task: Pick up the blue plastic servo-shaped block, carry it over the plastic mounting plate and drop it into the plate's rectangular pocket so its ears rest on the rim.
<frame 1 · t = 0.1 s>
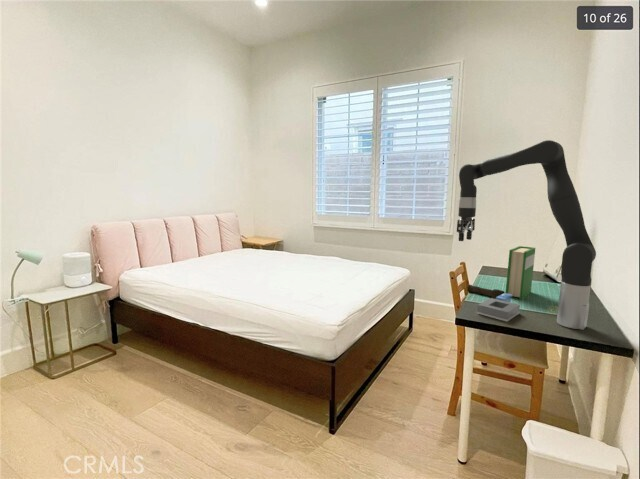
hand: (465, 240, 161), 29 cm above the table, tool pointing down, fingers open, 8 cm apart
hardback book: (518, 294, 172), on the table
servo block: (503, 304, 156), on the table
hand tool: (486, 296, 170), on the table
mounting plate: (498, 313, 144), on the table
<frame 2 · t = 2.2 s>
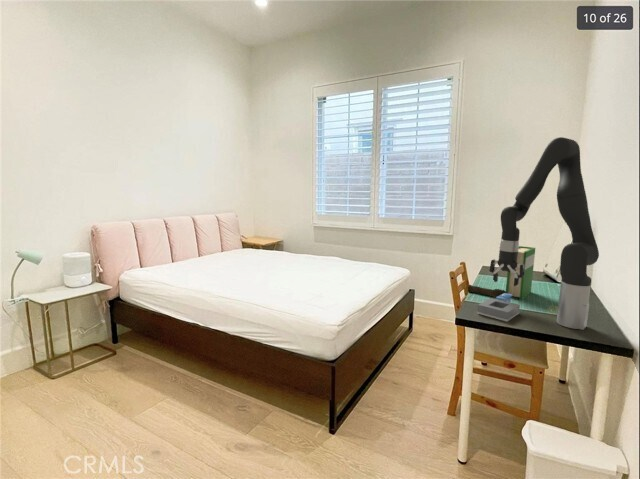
hand: (505, 283, 155), 10 cm above the table, tool pointing down, fingers open, 8 cm apart
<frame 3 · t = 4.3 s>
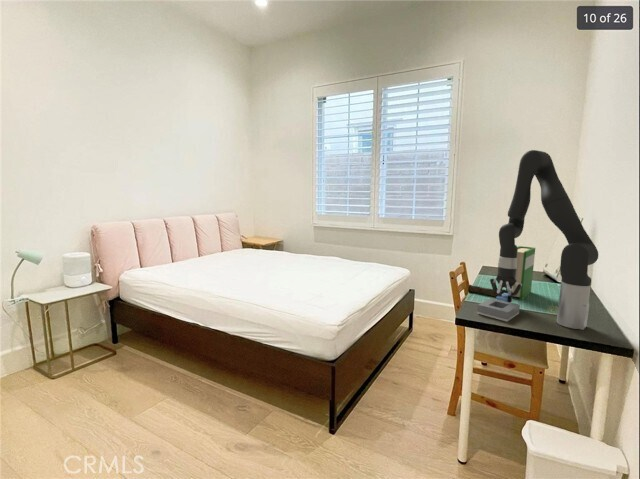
hand: (504, 301, 156), 1 cm above the table, tool pointing down, fingers closed on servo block, 3 cm apart
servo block: (503, 304, 156), on the table, touching gripper
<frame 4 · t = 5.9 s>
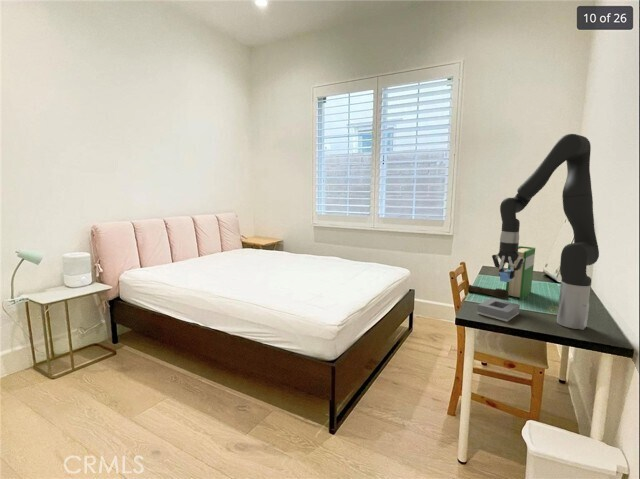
hand: (506, 277, 154), 13 cm above the table, tool pointing down, fingers closed on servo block, 3 cm apart
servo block: (506, 280, 154), point 12 cm above the table, touching gripper
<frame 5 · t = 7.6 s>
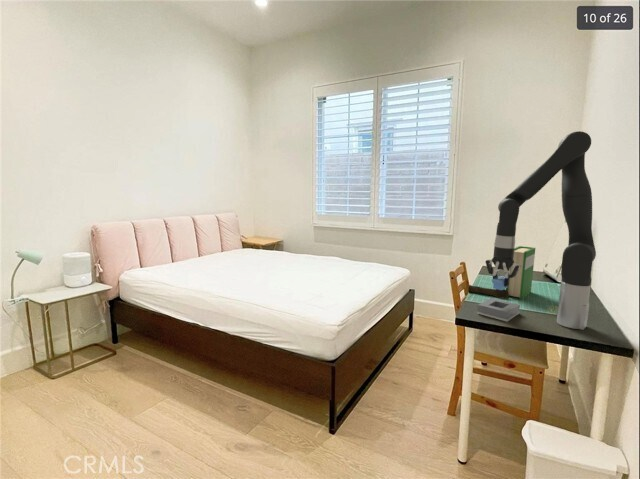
hand: (500, 285, 143), 13 cm above the table, tool pointing down, fingers closed on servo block, 3 cm apart
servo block: (500, 287, 143), point 11 cm above the table, touching gripper
when the fingers open (6 cm above the table, at t = 9.4 s): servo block drops 4 cm, resting on mounting plate.
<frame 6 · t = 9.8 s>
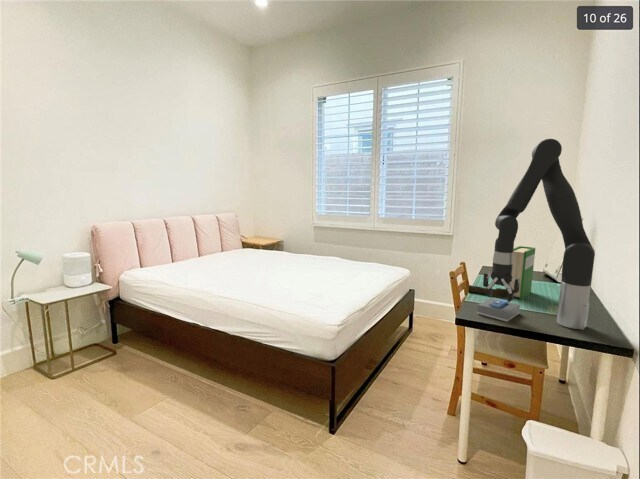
hand: (499, 299, 143), 7 cm above the table, tool pointing down, fingers open, 7 cm apart
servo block: (498, 311, 144), point 1 cm above the table, touching mounting plate
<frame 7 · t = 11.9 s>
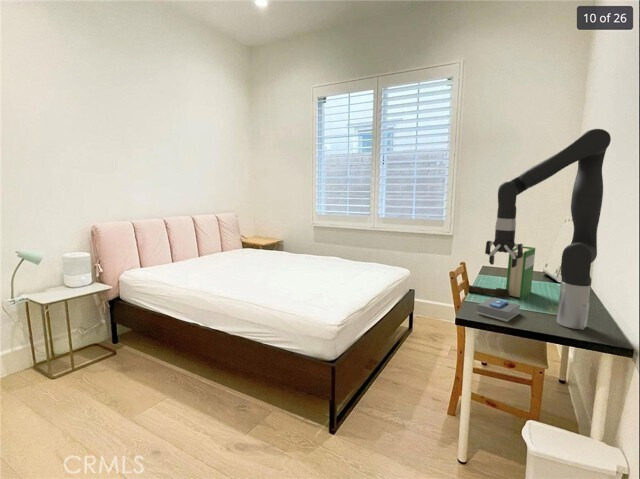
hand: (502, 265, 144), 21 cm above the table, tool pointing down, fingers open, 8 cm apart
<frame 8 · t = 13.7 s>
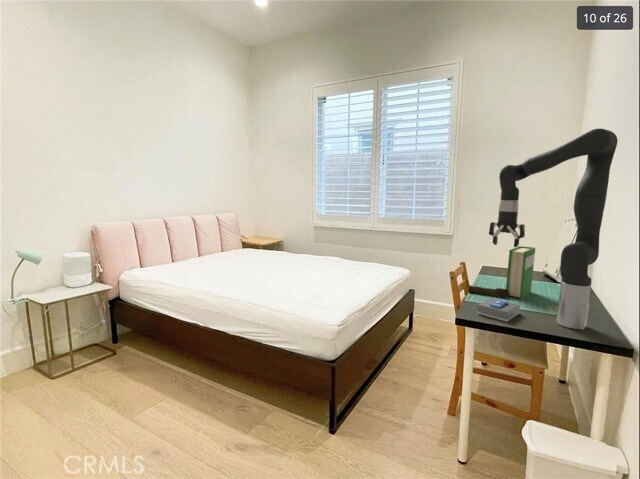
hand: (505, 245, 152), 28 cm above the table, tool pointing down, fingers open, 8 cm apart
at the end: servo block 0.1 cm off-centre on the mounting plate, point 0.8 cm above the mounting plate's base; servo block tilted 0°; the gripper is holding nothing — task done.
